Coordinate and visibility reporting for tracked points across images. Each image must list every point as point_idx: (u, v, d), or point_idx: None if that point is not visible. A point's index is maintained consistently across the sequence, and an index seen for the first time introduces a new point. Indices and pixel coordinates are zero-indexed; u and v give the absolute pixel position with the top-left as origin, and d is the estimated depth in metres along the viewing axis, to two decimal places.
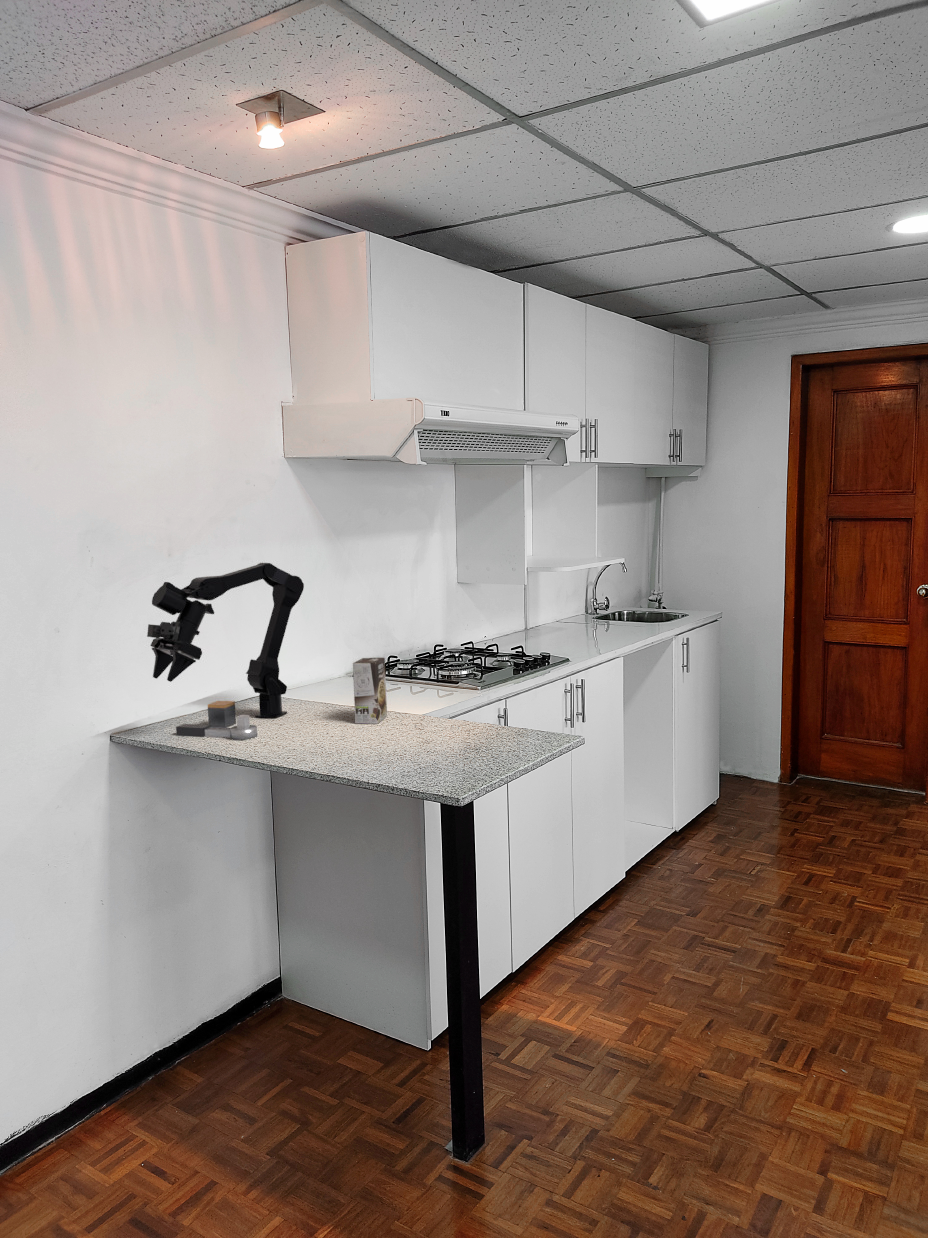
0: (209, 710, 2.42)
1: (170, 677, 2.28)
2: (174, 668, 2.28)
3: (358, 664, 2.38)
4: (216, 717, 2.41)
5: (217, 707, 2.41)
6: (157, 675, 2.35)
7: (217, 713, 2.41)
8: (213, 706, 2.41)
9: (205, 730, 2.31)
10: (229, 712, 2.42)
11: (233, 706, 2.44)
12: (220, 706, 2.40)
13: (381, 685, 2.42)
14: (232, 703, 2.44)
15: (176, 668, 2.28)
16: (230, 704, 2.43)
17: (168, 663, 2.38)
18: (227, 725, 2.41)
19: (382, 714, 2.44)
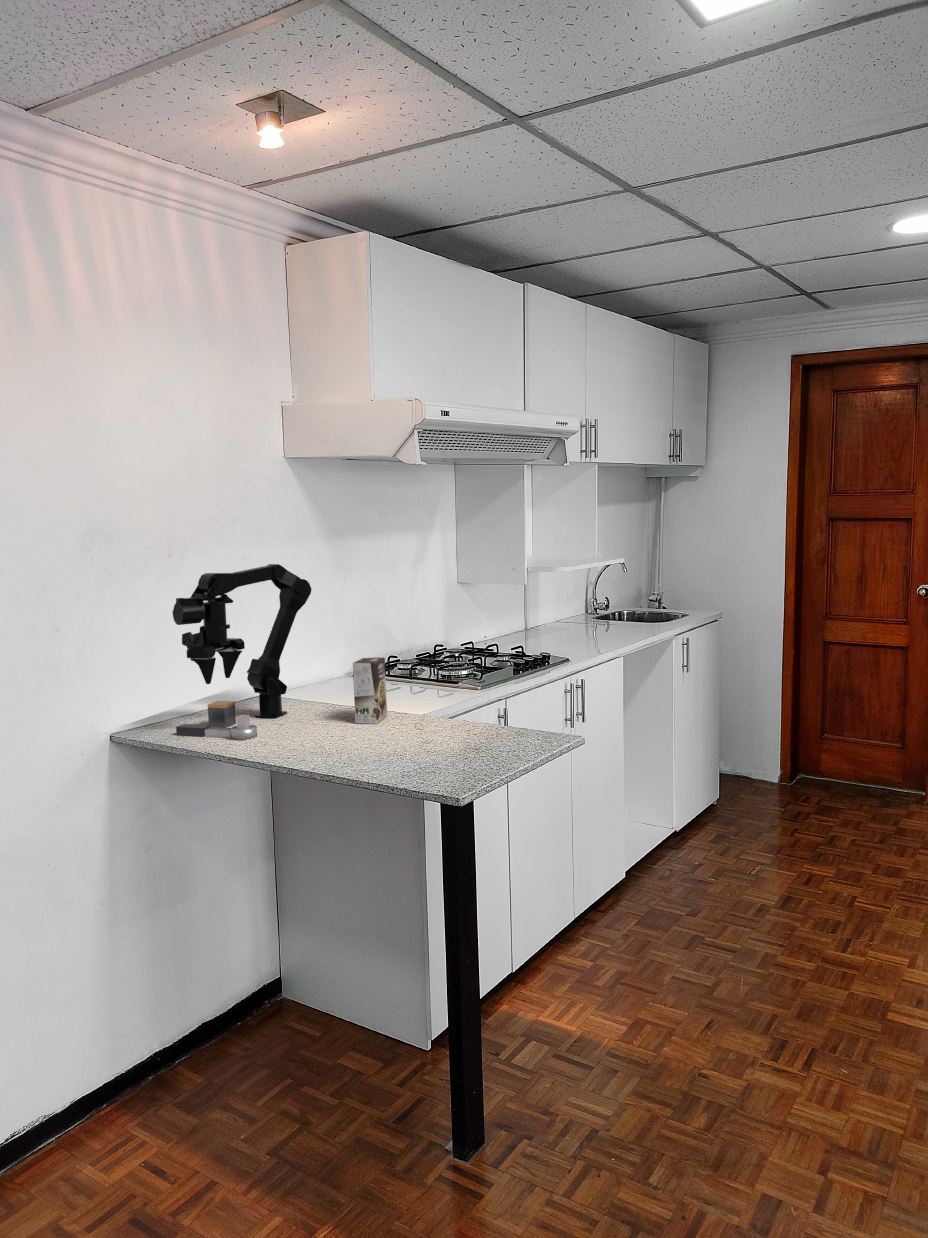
0: (209, 710, 2.42)
1: (206, 680, 2.37)
2: (203, 672, 2.36)
3: (358, 664, 2.38)
4: (216, 717, 2.41)
5: (217, 707, 2.41)
6: (228, 675, 2.46)
7: (217, 713, 2.41)
8: (213, 706, 2.41)
9: (205, 730, 2.31)
10: (229, 712, 2.42)
11: (233, 706, 2.44)
12: (220, 706, 2.40)
13: (381, 685, 2.42)
14: (232, 703, 2.44)
15: (204, 671, 2.36)
16: (230, 704, 2.43)
17: (233, 660, 2.46)
18: (227, 725, 2.41)
19: (382, 714, 2.44)
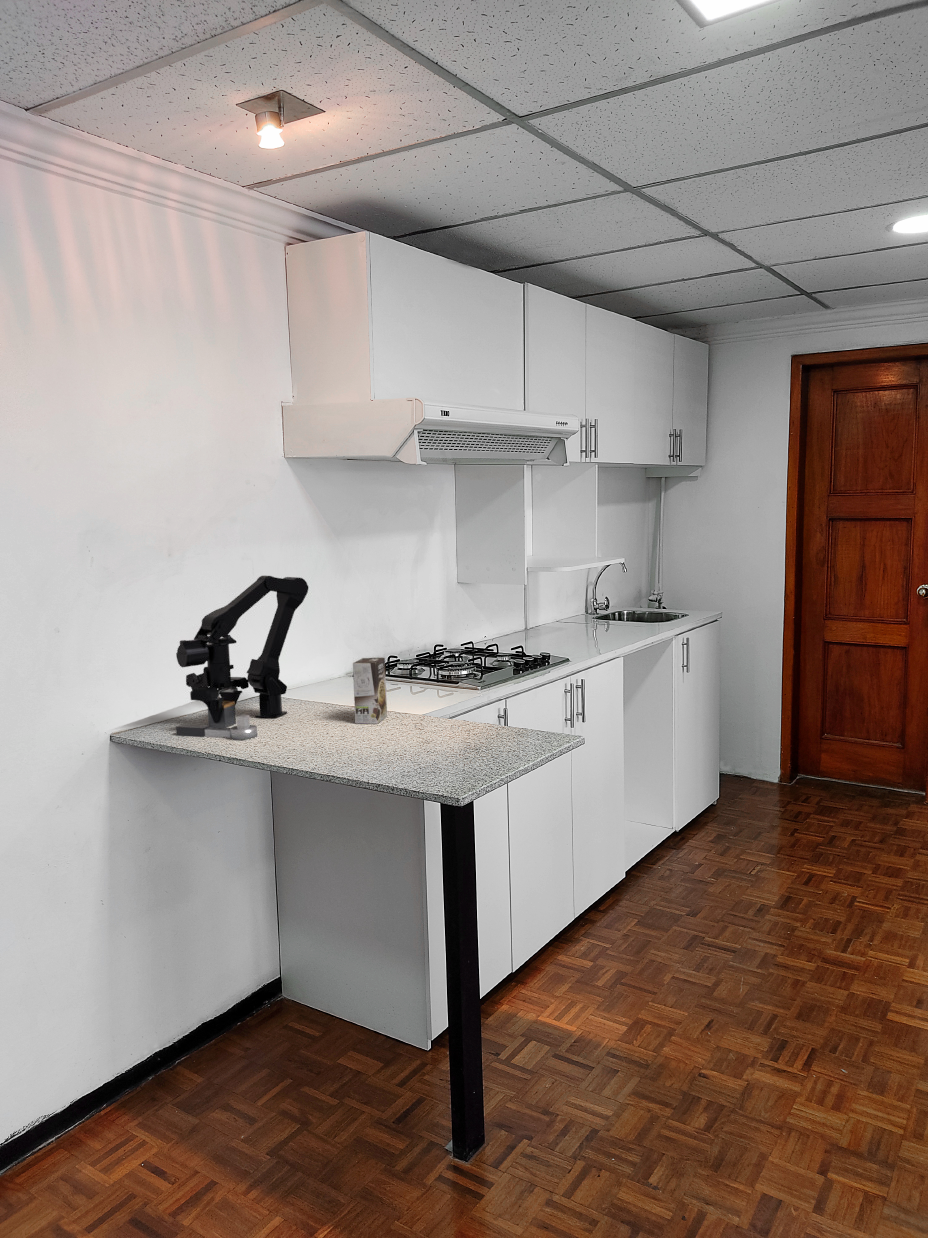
0: None
1: (214, 720, 2.41)
2: (211, 711, 2.40)
3: (358, 664, 2.38)
4: None
5: None
6: None
7: None
8: None
9: (205, 730, 2.31)
10: (229, 712, 2.42)
11: (233, 706, 2.44)
12: None
13: (381, 685, 2.42)
14: (232, 703, 2.44)
15: (212, 711, 2.40)
16: (230, 704, 2.43)
17: (233, 700, 2.45)
18: (227, 725, 2.41)
19: (382, 714, 2.44)
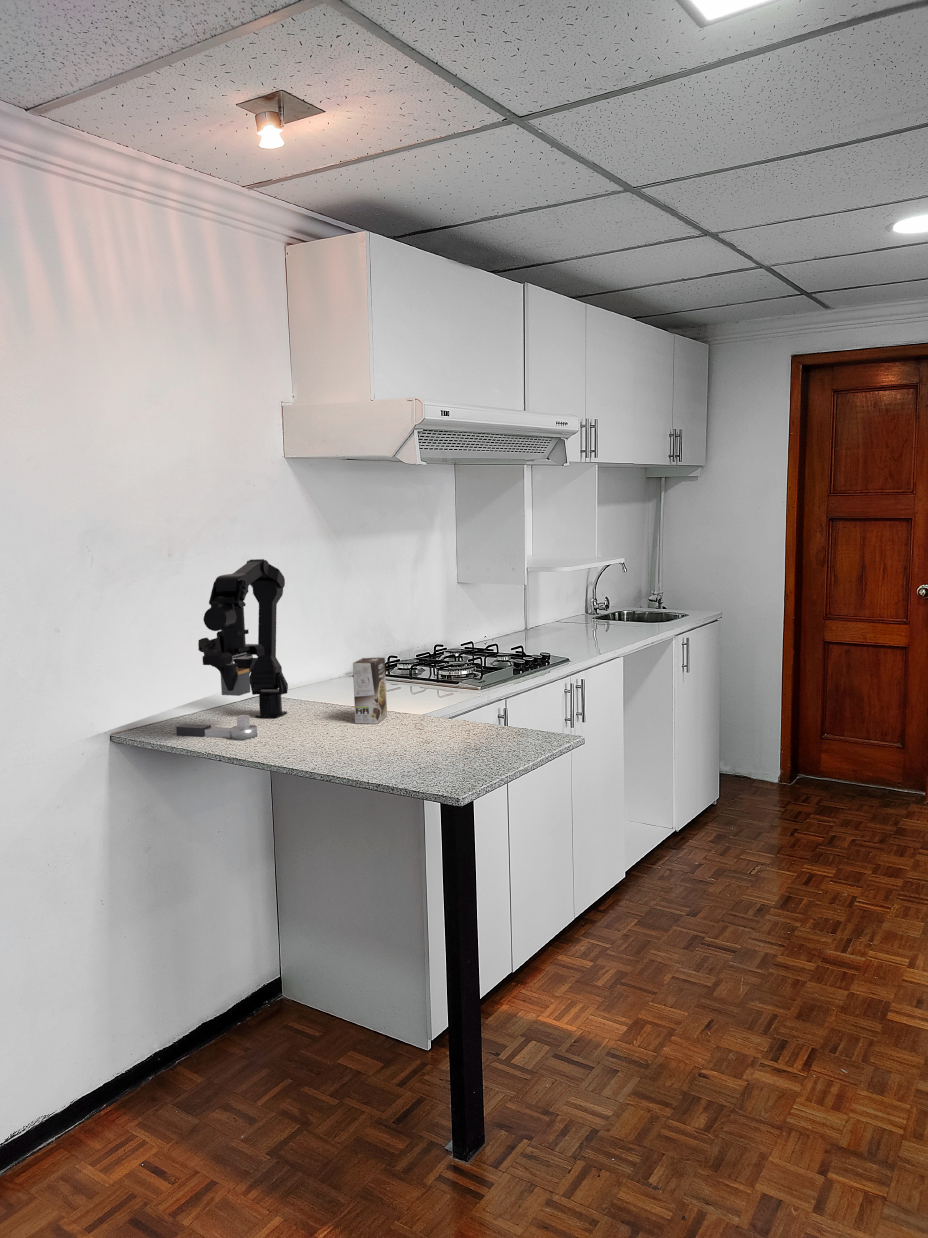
0: (222, 677, 2.28)
1: (228, 687, 2.27)
2: (224, 678, 2.27)
3: (358, 664, 2.38)
4: None
5: None
6: None
7: None
8: None
9: (205, 730, 2.31)
10: (243, 679, 2.29)
11: (247, 673, 2.31)
12: None
13: (381, 685, 2.42)
14: (246, 670, 2.30)
15: (226, 677, 2.26)
16: (244, 671, 2.30)
17: None
18: (241, 693, 2.28)
19: (382, 714, 2.44)
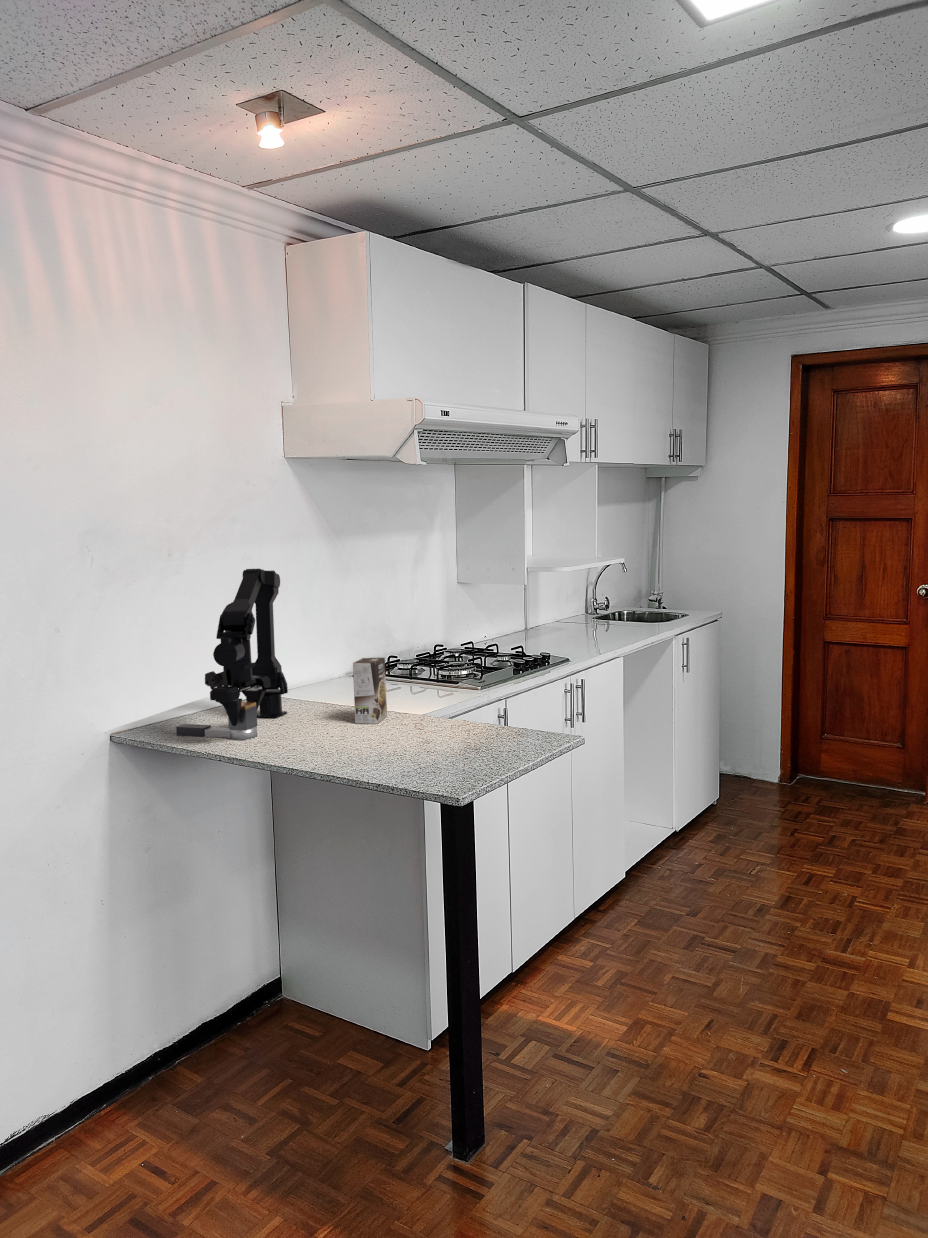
0: None
1: (232, 722, 2.25)
2: (229, 713, 2.24)
3: (358, 664, 2.38)
4: None
5: None
6: None
7: None
8: None
9: (205, 730, 2.31)
10: (250, 713, 2.28)
11: (254, 707, 2.30)
12: (241, 707, 2.26)
13: (381, 685, 2.42)
14: (253, 704, 2.29)
15: (230, 712, 2.24)
16: (251, 705, 2.28)
17: (258, 699, 2.32)
18: (248, 727, 2.27)
19: (382, 714, 2.44)
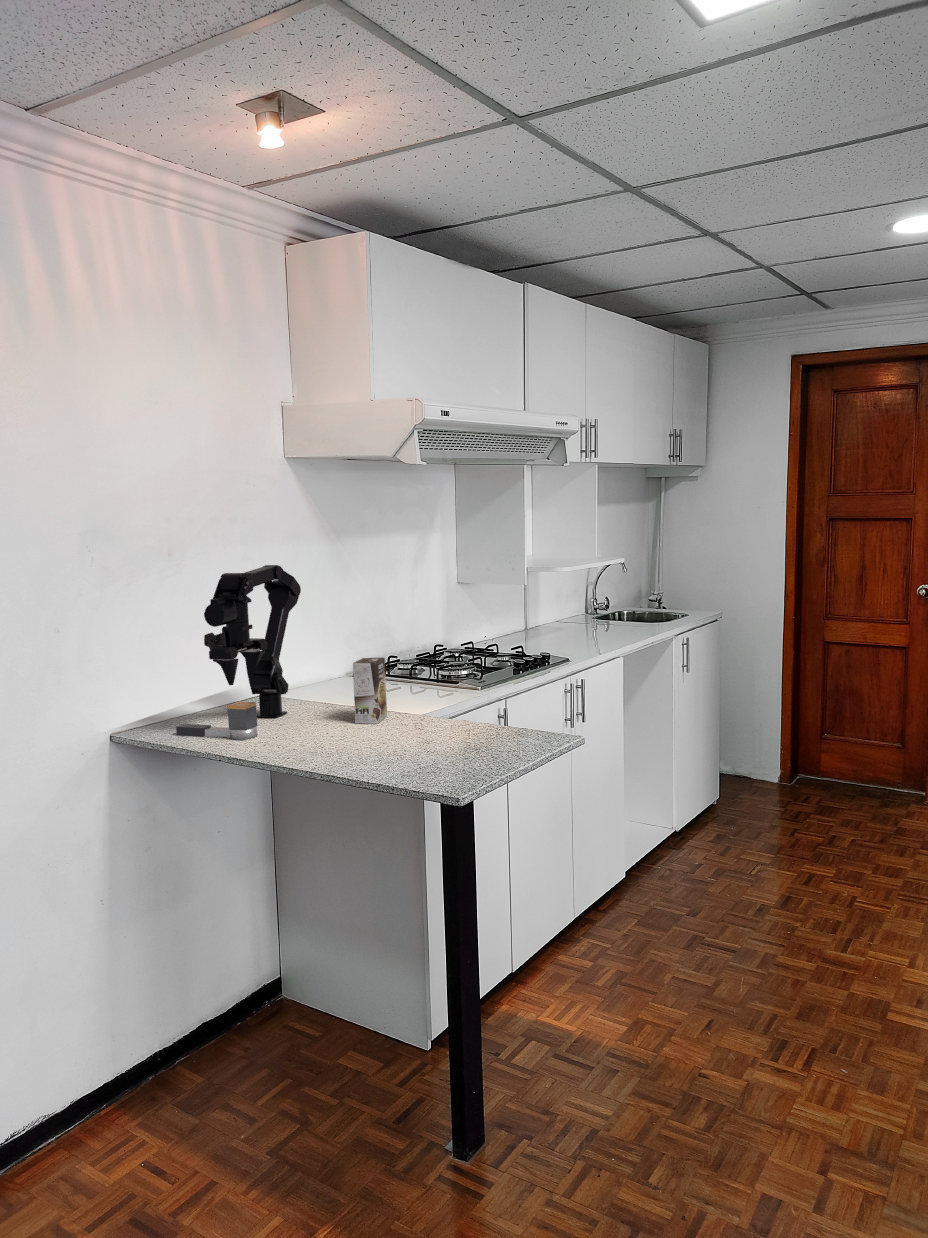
0: (229, 711, 2.27)
1: (229, 681, 2.34)
2: (225, 673, 2.34)
3: (358, 664, 2.38)
4: (236, 719, 2.27)
5: (238, 708, 2.26)
6: (250, 675, 2.43)
7: (238, 714, 2.27)
8: (233, 707, 2.27)
9: (205, 730, 2.31)
10: (250, 713, 2.28)
11: (254, 707, 2.30)
12: (241, 707, 2.26)
13: (381, 685, 2.42)
14: (253, 704, 2.29)
15: (227, 672, 2.33)
16: (251, 705, 2.28)
17: (256, 660, 2.43)
18: (248, 727, 2.27)
19: (382, 714, 2.44)
